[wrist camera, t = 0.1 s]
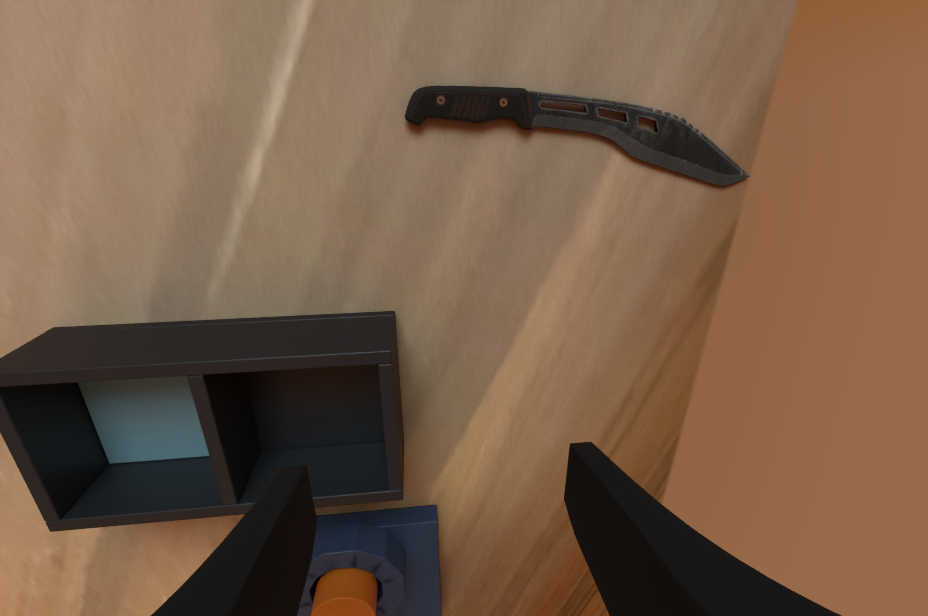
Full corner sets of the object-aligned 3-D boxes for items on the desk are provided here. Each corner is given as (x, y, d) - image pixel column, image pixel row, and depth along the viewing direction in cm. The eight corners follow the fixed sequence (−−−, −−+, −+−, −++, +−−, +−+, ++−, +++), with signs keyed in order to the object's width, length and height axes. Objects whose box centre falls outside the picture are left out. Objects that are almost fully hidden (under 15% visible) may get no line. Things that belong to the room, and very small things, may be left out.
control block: (440, 606, 29) (443, 657, 27) (314, 621, 29) (304, 674, 26) (436, 497, 26) (439, 542, 23) (291, 510, 25) (277, 558, 22)
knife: (742, 187, 21) (766, 117, 20) (750, 188, 20) (774, 117, 19) (403, 156, 18) (406, 75, 17) (403, 157, 18) (406, 74, 17)
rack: (404, 442, 24) (403, 500, 20) (108, 465, 22) (49, 532, 19) (394, 310, 21) (391, 350, 17) (52, 326, 19) (-30, 374, 16)
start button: (379, 602, 25) (377, 636, 23) (320, 609, 24) (314, 643, 23) (375, 562, 24) (372, 594, 22) (312, 568, 23) (305, 602, 22)
